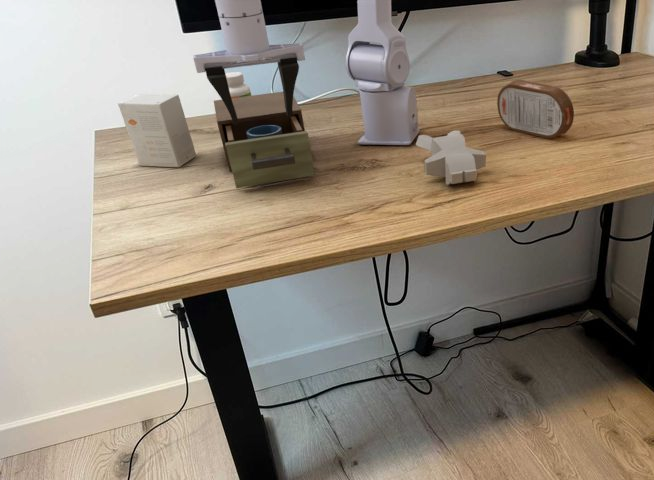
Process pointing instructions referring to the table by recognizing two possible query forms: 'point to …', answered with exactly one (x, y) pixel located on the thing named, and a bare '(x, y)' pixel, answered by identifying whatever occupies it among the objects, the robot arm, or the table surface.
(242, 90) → the supplement bottle
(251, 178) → the drawer
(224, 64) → the robot arm
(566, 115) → the tin
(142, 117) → the small box
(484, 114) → the table surface
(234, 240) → the table surface
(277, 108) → the cabinet
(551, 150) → the table surface
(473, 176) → the grey branched angular piece
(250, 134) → the cup
